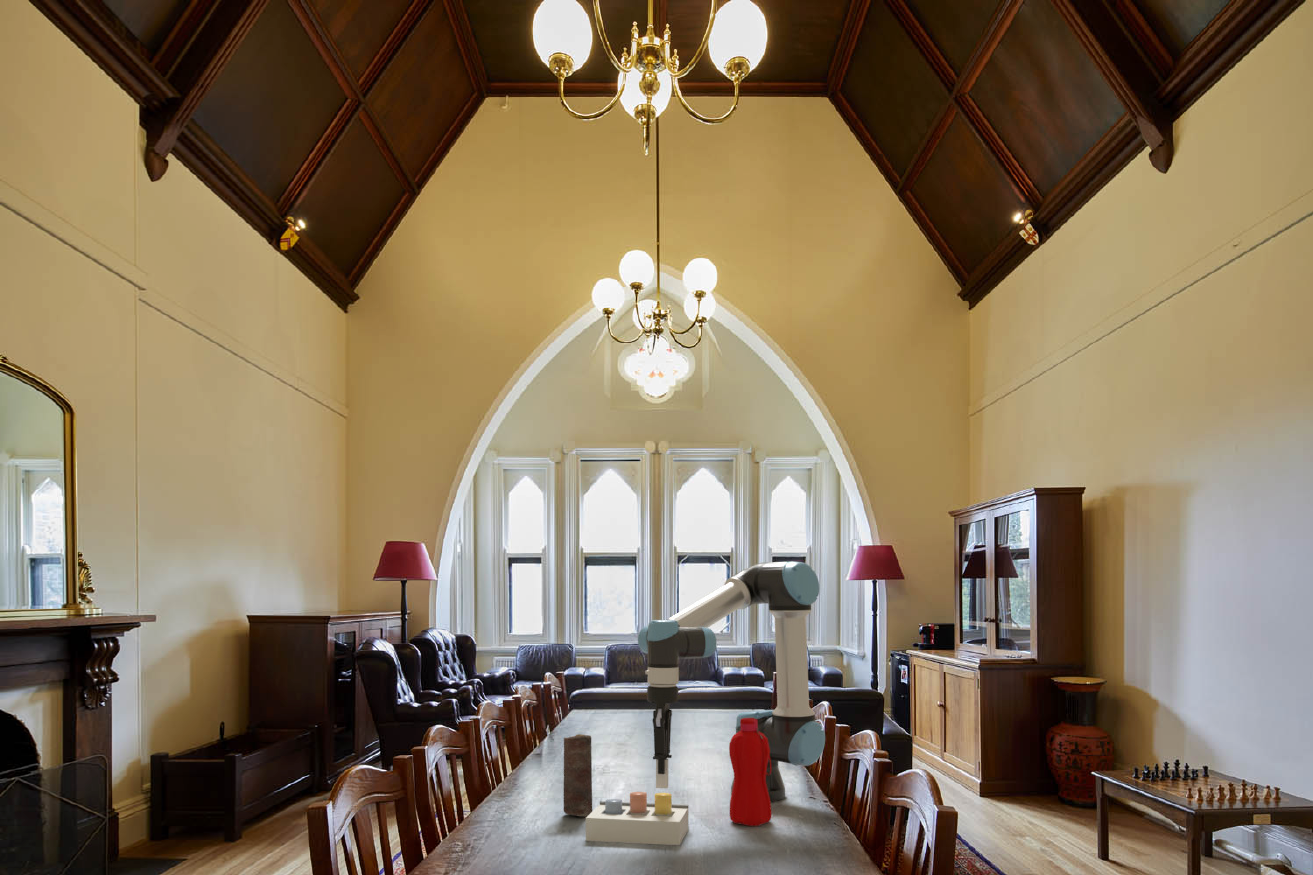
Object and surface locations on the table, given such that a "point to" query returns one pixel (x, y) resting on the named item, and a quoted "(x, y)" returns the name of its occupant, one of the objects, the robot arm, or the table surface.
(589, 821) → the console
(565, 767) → the brown rounded bar
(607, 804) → the button slate
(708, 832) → the table surface
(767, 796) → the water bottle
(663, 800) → the button mustard
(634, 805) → the button terracotta
